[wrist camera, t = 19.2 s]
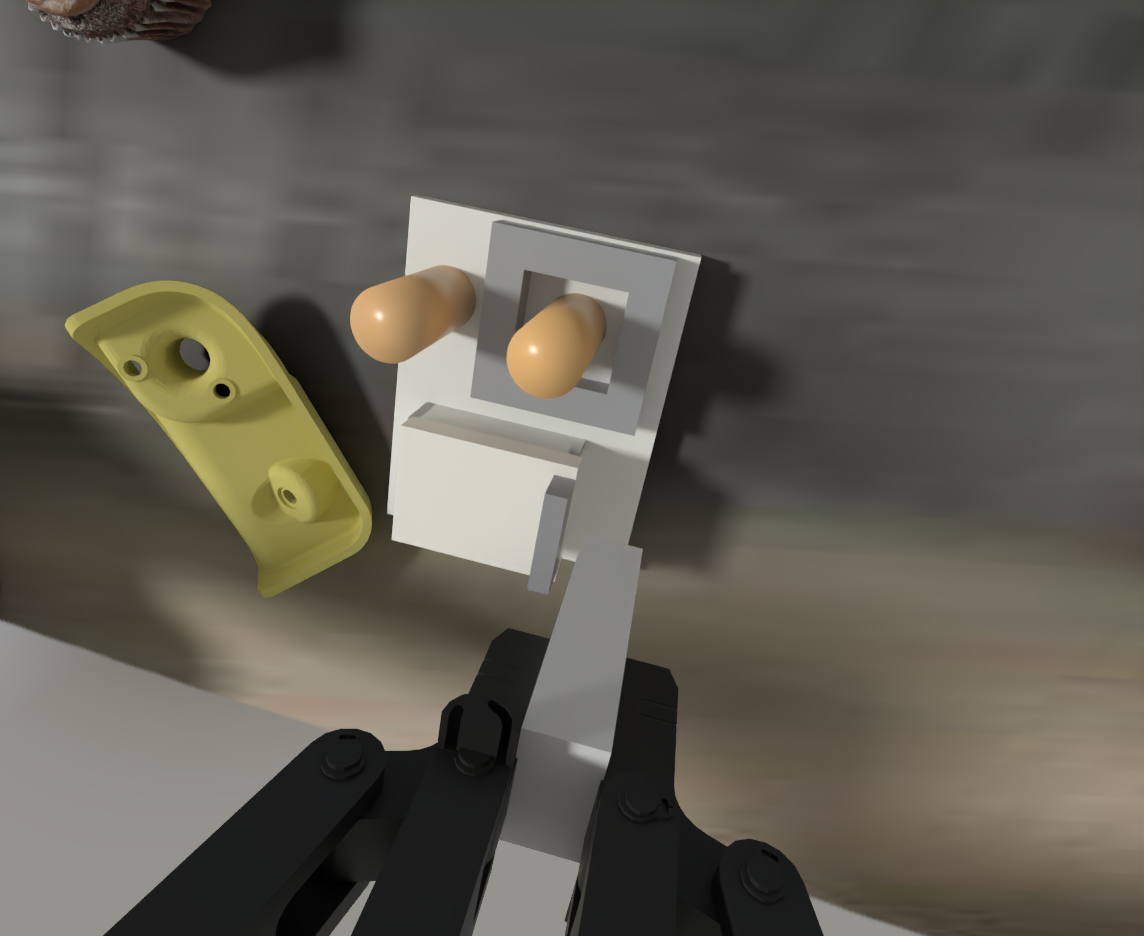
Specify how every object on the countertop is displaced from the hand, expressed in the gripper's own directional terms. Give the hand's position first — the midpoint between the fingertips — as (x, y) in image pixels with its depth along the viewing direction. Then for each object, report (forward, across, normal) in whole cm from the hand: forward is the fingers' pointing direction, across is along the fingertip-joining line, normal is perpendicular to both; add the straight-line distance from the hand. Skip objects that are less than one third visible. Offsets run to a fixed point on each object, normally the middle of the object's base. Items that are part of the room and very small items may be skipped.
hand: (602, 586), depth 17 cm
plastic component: (+25, -25, -10) cm, 36 cm away
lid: (+20, -8, -9) cm, 23 cm away
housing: (+24, -7, -4) cm, 26 cm away
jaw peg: (+23, -5, +1) cm, 23 cm away
